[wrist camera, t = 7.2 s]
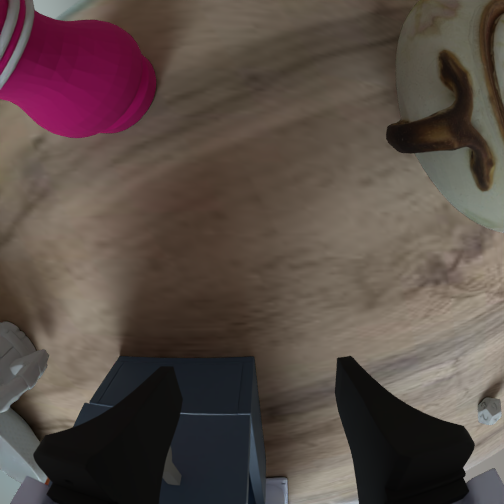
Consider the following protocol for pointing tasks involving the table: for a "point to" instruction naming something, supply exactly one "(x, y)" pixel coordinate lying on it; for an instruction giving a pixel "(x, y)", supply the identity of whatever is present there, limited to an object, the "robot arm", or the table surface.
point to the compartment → (201, 397)
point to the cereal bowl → (18, 448)
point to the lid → (201, 458)
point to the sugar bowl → (455, 102)
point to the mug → (18, 364)
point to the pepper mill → (72, 72)
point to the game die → (489, 411)
